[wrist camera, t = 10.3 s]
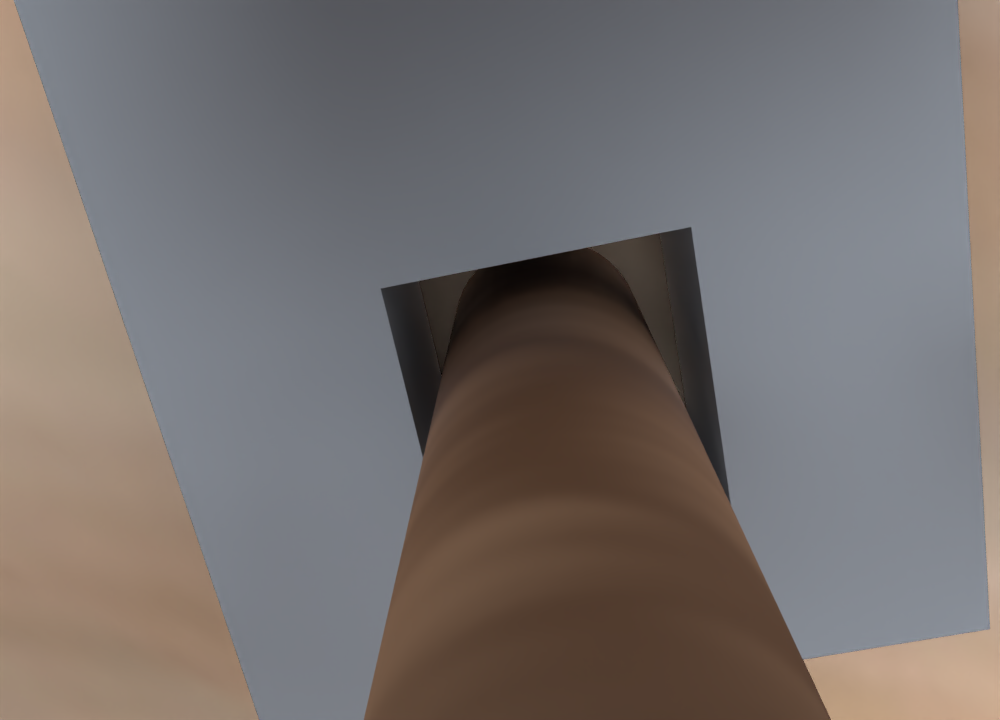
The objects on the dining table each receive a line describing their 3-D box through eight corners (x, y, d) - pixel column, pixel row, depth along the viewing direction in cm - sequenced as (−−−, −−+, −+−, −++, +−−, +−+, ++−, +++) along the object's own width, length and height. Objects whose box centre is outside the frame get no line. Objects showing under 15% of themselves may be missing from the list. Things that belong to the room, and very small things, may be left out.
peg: (475, 429, 22) (394, 1183, 7) (437, 258, 20) (249, 760, 6) (650, 397, 21) (928, 1120, 7) (623, 222, 20) (887, 662, 6)
